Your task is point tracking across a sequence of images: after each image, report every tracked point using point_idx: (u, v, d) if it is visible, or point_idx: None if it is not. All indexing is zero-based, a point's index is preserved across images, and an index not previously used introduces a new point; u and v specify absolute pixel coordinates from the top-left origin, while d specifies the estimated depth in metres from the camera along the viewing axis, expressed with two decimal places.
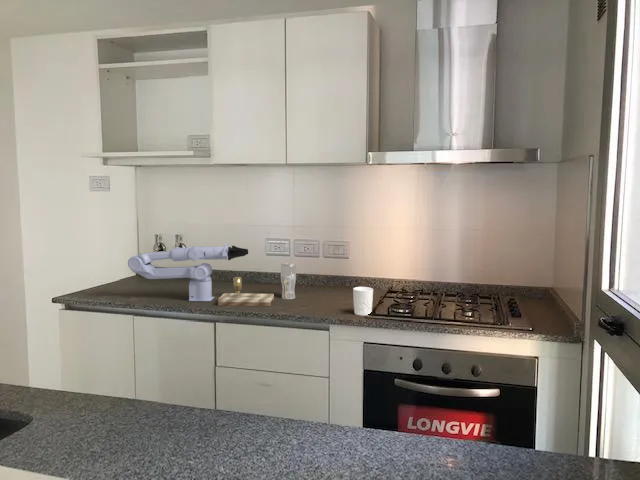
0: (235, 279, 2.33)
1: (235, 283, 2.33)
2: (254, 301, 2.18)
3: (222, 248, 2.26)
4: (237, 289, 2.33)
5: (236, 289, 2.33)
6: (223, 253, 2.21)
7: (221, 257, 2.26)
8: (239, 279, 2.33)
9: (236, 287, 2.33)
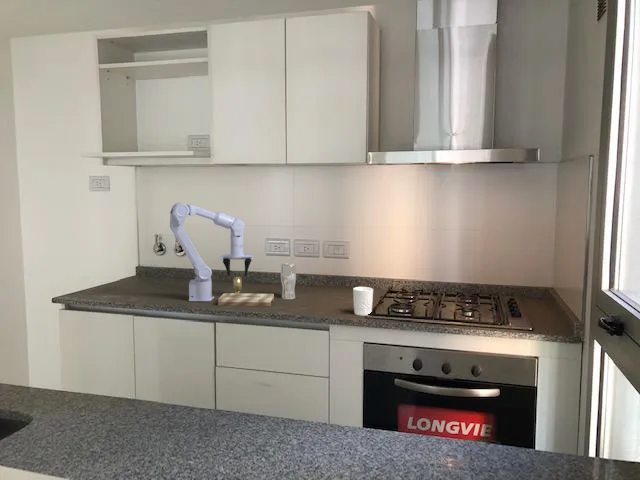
0: (235, 279, 2.33)
1: (235, 283, 2.33)
2: (254, 301, 2.18)
3: None
4: (237, 289, 2.33)
5: (236, 289, 2.33)
6: (253, 256, 2.34)
7: (241, 252, 2.32)
8: (239, 279, 2.33)
9: (236, 287, 2.33)
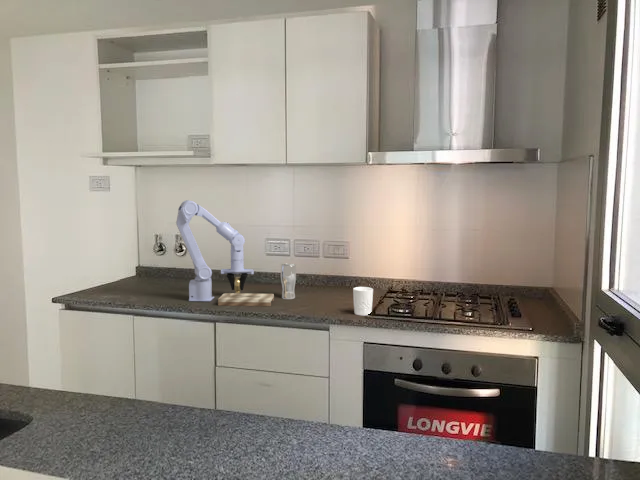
0: (235, 279, 2.33)
1: (235, 283, 2.33)
2: (254, 301, 2.18)
3: None
4: (237, 289, 2.33)
5: (236, 289, 2.33)
6: (253, 270, 2.34)
7: (241, 267, 2.32)
8: (239, 279, 2.33)
9: (236, 287, 2.33)
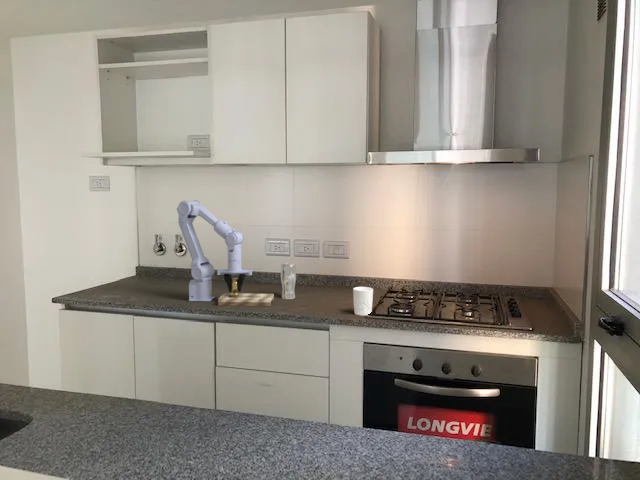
0: (233, 280, 2.22)
1: (233, 284, 2.22)
2: (254, 301, 2.18)
3: None
4: (235, 291, 2.23)
5: (234, 291, 2.23)
6: (251, 271, 2.23)
7: (238, 267, 2.21)
8: (237, 280, 2.23)
9: (234, 288, 2.22)
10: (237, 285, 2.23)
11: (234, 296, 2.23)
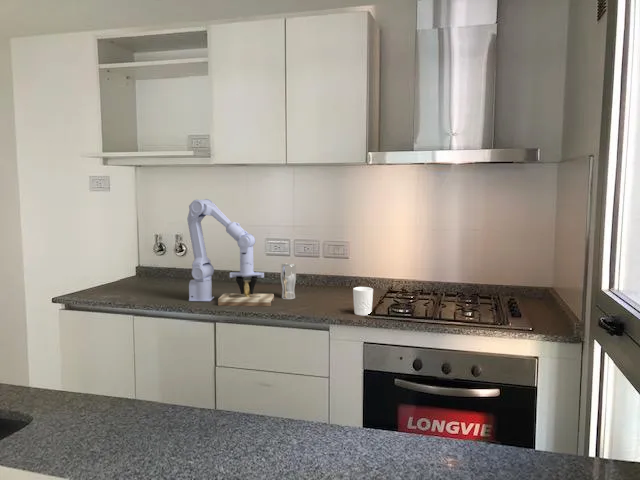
0: (245, 283, 2.22)
1: (245, 287, 2.22)
2: (254, 301, 2.18)
3: None
4: (247, 293, 2.23)
5: (246, 293, 2.23)
6: (263, 273, 2.23)
7: (251, 270, 2.21)
8: (249, 283, 2.23)
9: (246, 291, 2.22)
10: (249, 287, 2.23)
11: None
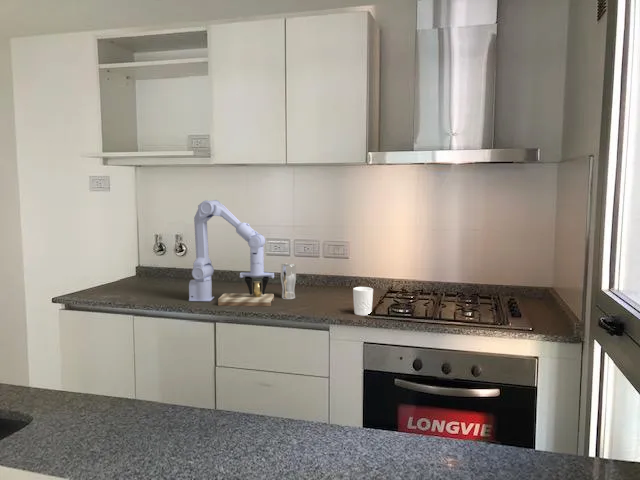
0: (255, 284, 2.22)
1: (255, 288, 2.22)
2: (254, 301, 2.18)
3: None
4: (257, 294, 2.22)
5: (256, 294, 2.22)
6: None
7: (261, 270, 2.21)
8: (259, 284, 2.22)
9: (256, 292, 2.22)
10: (259, 288, 2.23)
11: None
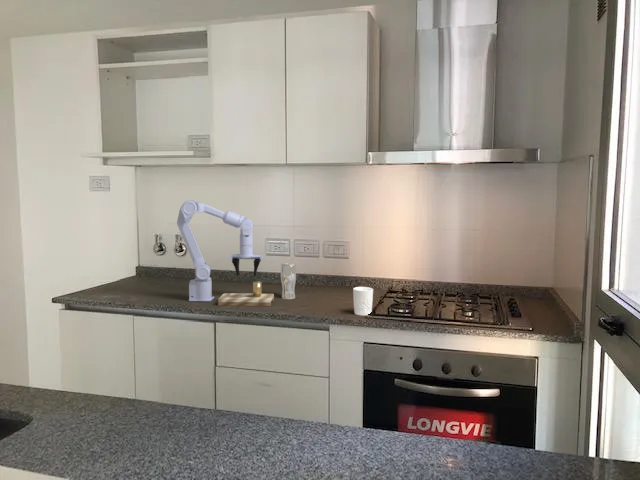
0: (255, 284, 2.22)
1: (255, 288, 2.22)
2: (254, 301, 2.18)
3: None
4: (257, 294, 2.22)
5: (256, 294, 2.22)
6: (262, 256, 2.32)
7: (250, 252, 2.30)
8: (259, 284, 2.22)
9: (256, 292, 2.22)
10: (259, 289, 2.23)
11: None
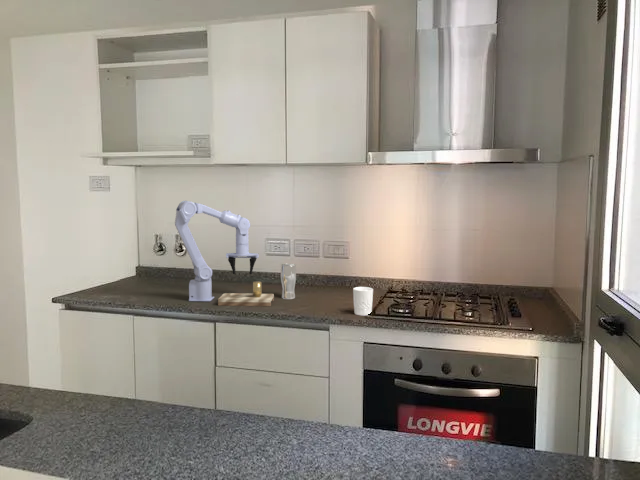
0: (255, 284, 2.22)
1: (255, 288, 2.22)
2: (254, 301, 2.18)
3: None
4: (257, 294, 2.22)
5: (256, 294, 2.22)
6: (258, 254, 2.36)
7: (246, 250, 2.34)
8: (259, 284, 2.22)
9: (256, 292, 2.22)
10: (259, 289, 2.23)
11: None
